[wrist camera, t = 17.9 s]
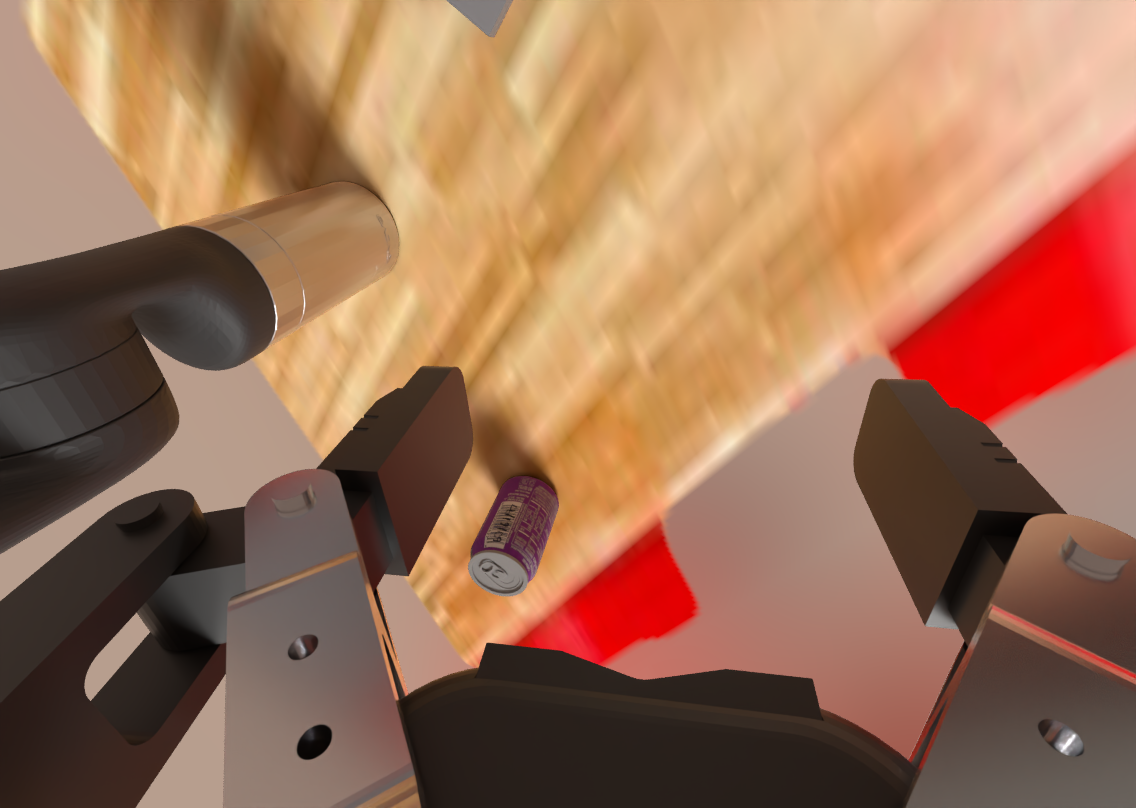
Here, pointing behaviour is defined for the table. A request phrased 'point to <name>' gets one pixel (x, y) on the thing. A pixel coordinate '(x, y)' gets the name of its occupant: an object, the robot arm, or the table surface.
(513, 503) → the beverage can
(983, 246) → the table surface
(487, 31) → the high shelf
